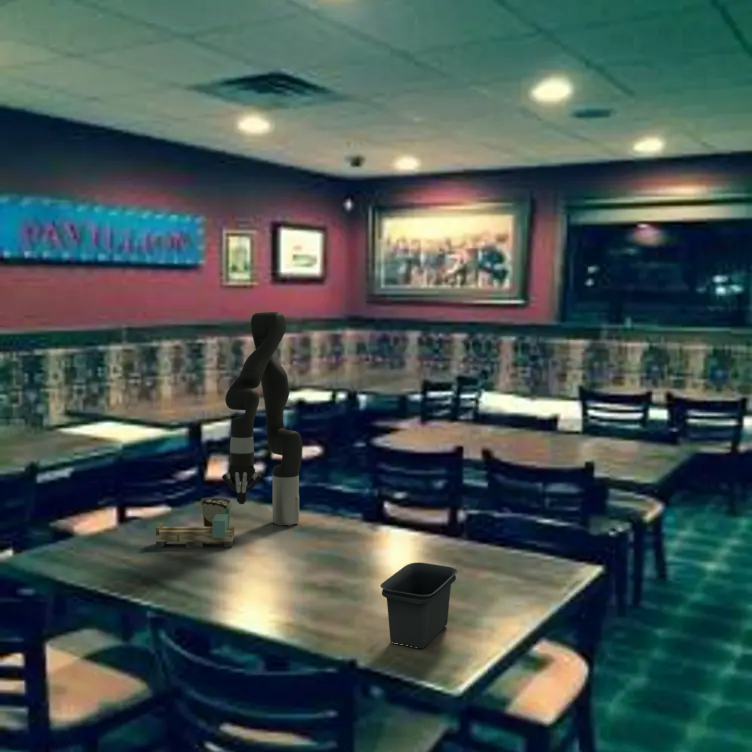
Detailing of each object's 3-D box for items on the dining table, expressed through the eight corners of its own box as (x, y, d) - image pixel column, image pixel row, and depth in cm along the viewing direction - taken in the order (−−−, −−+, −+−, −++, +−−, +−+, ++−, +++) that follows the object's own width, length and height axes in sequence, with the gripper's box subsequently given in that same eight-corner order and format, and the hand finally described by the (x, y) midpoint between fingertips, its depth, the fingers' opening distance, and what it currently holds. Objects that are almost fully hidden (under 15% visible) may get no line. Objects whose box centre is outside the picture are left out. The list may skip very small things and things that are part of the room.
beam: (234, 542, 277) (234, 522, 277) (231, 548, 271) (231, 528, 270) (160, 541, 276) (160, 522, 276) (155, 547, 270) (155, 528, 269)
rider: (228, 530, 278) (228, 513, 277) (224, 537, 269) (224, 521, 269) (216, 530, 278) (216, 513, 277) (212, 537, 269) (212, 521, 268)
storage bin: (428, 657, 191) (430, 595, 190) (366, 644, 198) (367, 585, 197) (460, 624, 211) (461, 568, 209) (402, 614, 217) (403, 559, 216)
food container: (239, 528, 293) (239, 500, 292) (227, 532, 288) (227, 504, 287) (213, 523, 299) (213, 495, 298) (201, 527, 294) (200, 498, 293)
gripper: (264, 448, 275) (263, 501, 277) (223, 448, 275) (222, 500, 276) (261, 452, 268) (261, 506, 269) (219, 452, 267) (219, 506, 269)
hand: (241, 503), depth 273 cm, fingers closed
